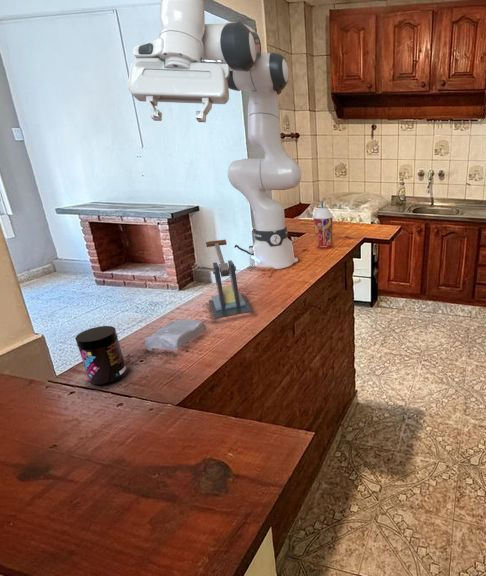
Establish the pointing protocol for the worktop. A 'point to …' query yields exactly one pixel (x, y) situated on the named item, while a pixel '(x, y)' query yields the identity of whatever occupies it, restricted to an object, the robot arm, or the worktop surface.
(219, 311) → the butter cutter
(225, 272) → the arm
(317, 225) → the smoothie
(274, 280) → the worktop surface
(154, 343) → the stone block
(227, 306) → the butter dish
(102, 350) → the supplement container
